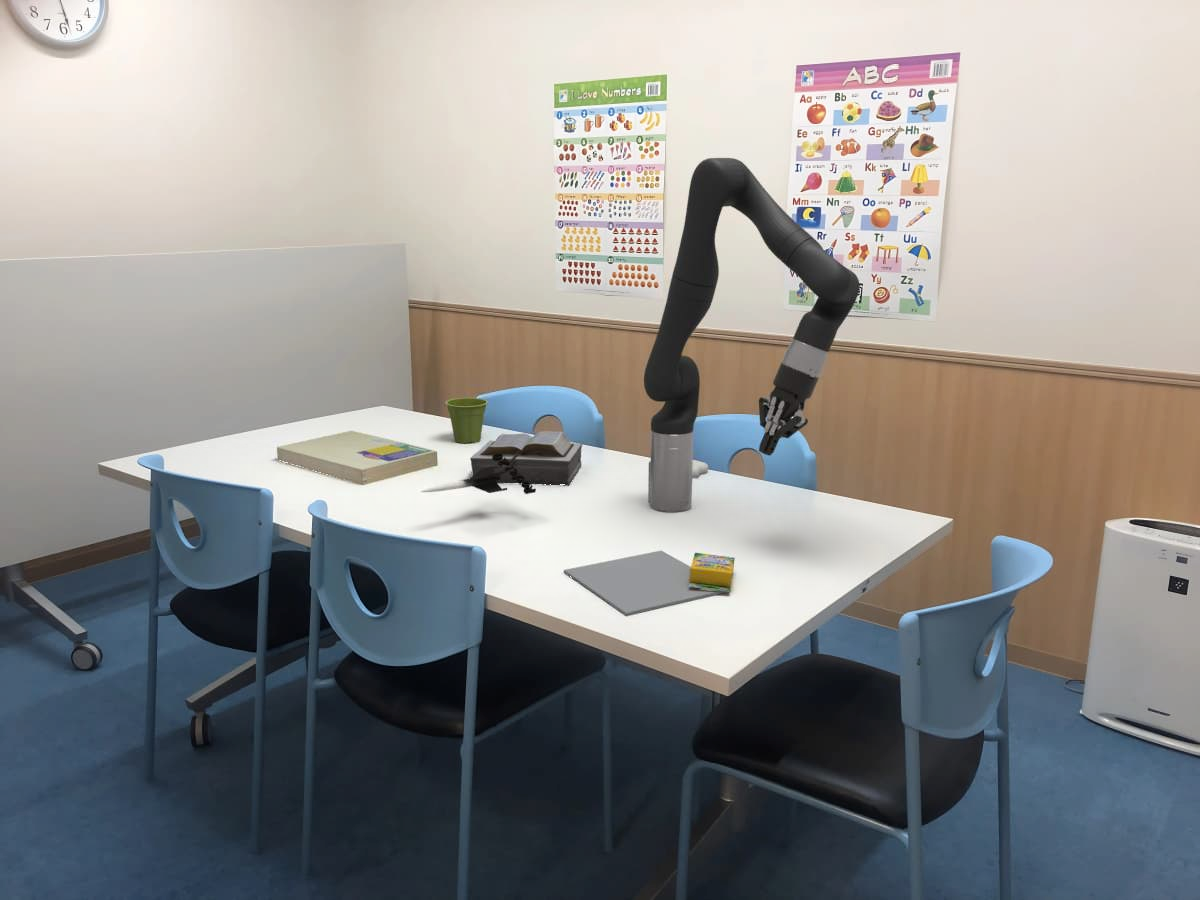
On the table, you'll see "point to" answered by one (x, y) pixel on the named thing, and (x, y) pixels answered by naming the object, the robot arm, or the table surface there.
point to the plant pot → (467, 418)
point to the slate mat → (640, 582)
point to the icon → (699, 468)
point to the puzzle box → (358, 457)
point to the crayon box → (711, 572)
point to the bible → (532, 457)
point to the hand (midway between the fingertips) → (764, 453)
